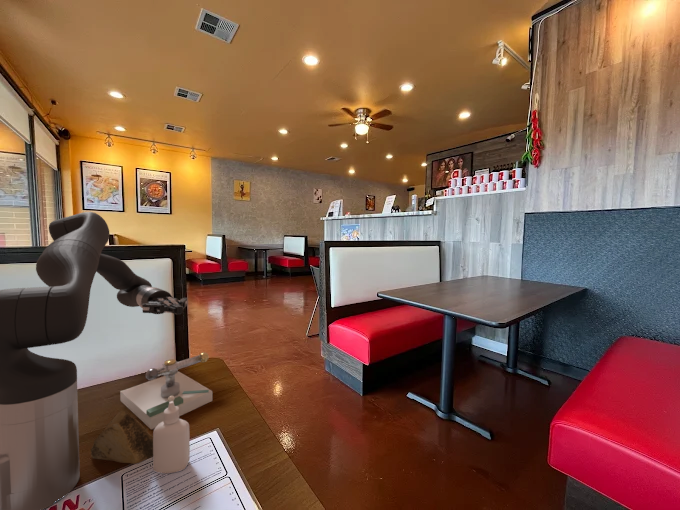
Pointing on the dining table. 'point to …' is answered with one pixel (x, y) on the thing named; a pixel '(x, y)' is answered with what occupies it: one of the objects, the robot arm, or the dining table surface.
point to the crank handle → (174, 368)
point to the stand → (164, 398)
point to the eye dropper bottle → (171, 442)
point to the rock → (123, 441)
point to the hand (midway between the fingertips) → (179, 310)
